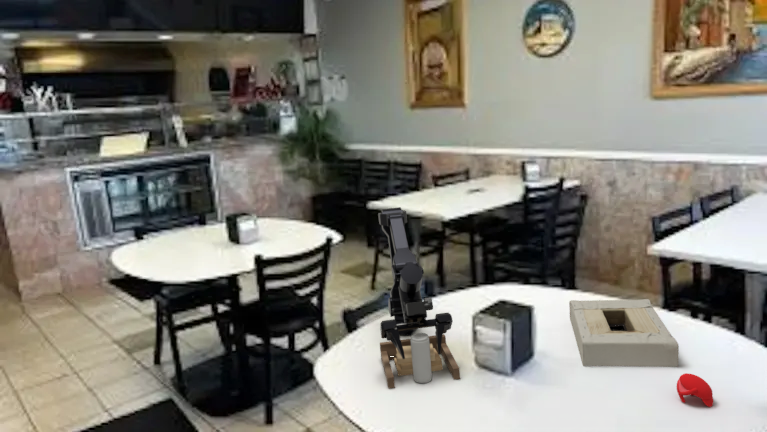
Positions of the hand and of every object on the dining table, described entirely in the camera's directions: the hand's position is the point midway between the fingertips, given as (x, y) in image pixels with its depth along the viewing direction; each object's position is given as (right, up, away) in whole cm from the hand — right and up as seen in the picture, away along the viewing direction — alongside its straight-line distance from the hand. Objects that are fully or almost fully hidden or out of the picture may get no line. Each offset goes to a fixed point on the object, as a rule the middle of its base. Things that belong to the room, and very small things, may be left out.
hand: (421, 356), depth 152 cm
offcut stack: (0, -5, +10) cm, 11 cm away
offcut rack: (0, -5, +9) cm, 10 cm away
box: (+56, 0, +14) cm, 58 cm away
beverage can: (+1, -7, +2) cm, 7 cm away
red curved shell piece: (+60, -6, -19) cm, 63 cm away
